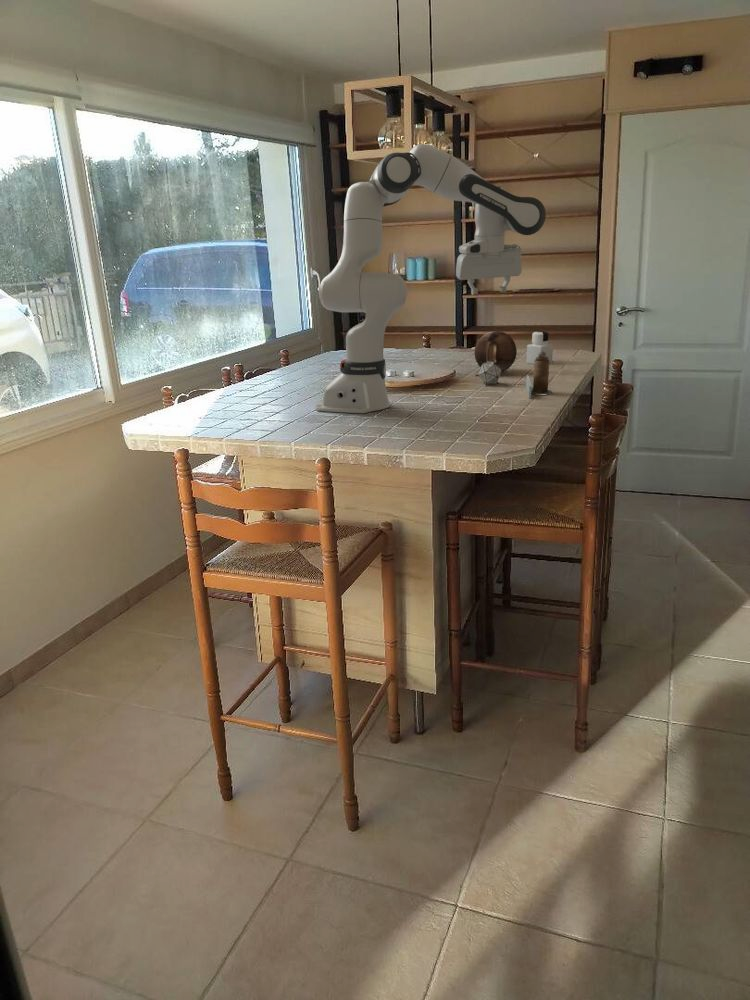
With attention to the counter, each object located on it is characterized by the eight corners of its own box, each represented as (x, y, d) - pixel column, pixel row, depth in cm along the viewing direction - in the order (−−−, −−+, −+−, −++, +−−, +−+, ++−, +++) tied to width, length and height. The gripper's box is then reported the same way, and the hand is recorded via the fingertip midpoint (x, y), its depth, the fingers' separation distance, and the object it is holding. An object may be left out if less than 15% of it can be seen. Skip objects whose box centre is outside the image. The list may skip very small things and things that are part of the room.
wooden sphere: (488, 368, 286) (489, 327, 281) (523, 371, 277) (525, 330, 272) (466, 374, 276) (466, 332, 271) (501, 378, 266) (502, 335, 261)
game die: (494, 395, 257) (506, 375, 250) (471, 387, 256) (482, 366, 249) (496, 378, 263) (508, 357, 255) (473, 370, 262) (484, 349, 254)
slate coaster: (529, 395, 239) (529, 393, 239) (528, 390, 246) (528, 389, 246) (552, 395, 238) (552, 393, 238) (550, 390, 245) (550, 389, 245)
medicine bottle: (537, 361, 297) (539, 330, 293) (552, 363, 292) (554, 331, 288) (525, 363, 293) (527, 332, 289) (540, 365, 288) (542, 333, 284)
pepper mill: (533, 393, 240) (535, 352, 236) (532, 390, 244) (534, 350, 240) (548, 393, 239) (550, 352, 235) (547, 390, 244) (549, 350, 239)
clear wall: (528, 398, 234) (529, 386, 233) (526, 387, 251) (526, 375, 249) (530, 398, 234) (531, 386, 233) (528, 387, 251) (528, 375, 249)
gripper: (516, 243, 232) (515, 289, 237) (454, 247, 227) (454, 294, 232) (525, 244, 226) (524, 291, 231) (461, 248, 222) (461, 296, 227)
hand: (488, 293), depth 232 cm, fingers open, 8 cm apart
